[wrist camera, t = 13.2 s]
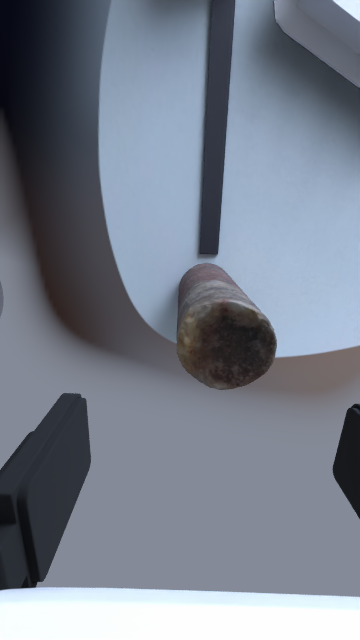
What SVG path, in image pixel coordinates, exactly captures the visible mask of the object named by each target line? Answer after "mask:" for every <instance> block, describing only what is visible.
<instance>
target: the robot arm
mask: <svg viewBox="0 0 360 640" xmlns="http://www.w3.org/2000/svg"><path fill="white" fill-rule="evenodd" d="M90 463H91V455H90V442H89V429H88V416H87V404H86V399H85V398H82V397H81V395H80V394H73V393H72V394H71V393H64V394H62V395H61V396H60V398H59V399H58V400H57V402H56V403H55V404H54V406H53V407H52V408H51V410H50V411H49V412H48V413H47V415H46V416H45V417H44V419H43V420H42V421H41V423H40V424H39V425H38V427H37V428H36V429H35V431H32V432H30V433H29V434H28V435H27V436H26V437H25V439H24V440H23V441H22V443H21V444H20V445H19V446H18V448H17V449H16V450H15V452H14V453H13V454H12V456H11V457H10V458H9V459H8V461H7V462H6V463H5V464H4V466H3V467H2V468H1V470H0V640H360V597H346V596H345V597H344V596H321V595H295V594H271V593H243V592H216V591H186V590H152V589H123V588H122V589H121V588H48V587H43V588H35V587H36V585H37V582H42V581H44V579H45V577H46V575H47V573H48V570H49V568H50V566H51V563H52V560H53V558H54V556H55V553H56V551H57V548H58V546H59V543H60V541H61V538H62V536H63V533H64V530H65V528H66V525H67V523H68V520H69V518H70V516H71V513H72V511H73V508H74V506H75V503H76V501H77V498H78V496H79V493H80V491H81V488H82V486H83V483H84V481H85V478H86V476H87V473H88V471H89V468H90ZM333 475H334V478H335V480H336V481H337V483H338V484H339V486H340V488H341V489H342V491H343V493H344V494H345V496H346V497H347V499H348V500H349V502H350V504H351V505H352V507H353V509H354V510H355V512H356V513H357V515H358V517H359V518H360V404H354V405H353V406H352V407H351V408H349V409H348V410H347V413H346V417H345V421H344V425H343V429H342V433H341V437H340V441H339V445H338V449H337V453H336V457H335V461H334V465H333Z"/></svg>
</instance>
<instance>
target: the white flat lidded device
mask: <svg viewBox="0 0 360 640" xmlns="http://www.w3.org/2000/svg"><path fill="white" fill-rule="evenodd" d="M274 8H275V20H276V21H277V23H278V24H279V26H280V27H281V29H282V30H283V32H284V33H286V34H287V35H288V36H290V37H291V38H292V39H294V40H295V41H296V42H298V43H299V44H301V45H302V46H303V47H305V48H306V49H307V50H309V51H310V52H311V53H313V54H314V55H315V56H317V57H318V58H319V59H321V60H322V61H323V62H325V63H326V64H327V65H329V66H330V67H332V68H333V69H334V70H336V71H337V72H338V73H340V74H341V75H342V76H344V77H345V78H346V79H348V80H349V81H350V82H352V83H353V84H354V85H356V86H357V87H358V88H360V0H275V1H274Z"/></svg>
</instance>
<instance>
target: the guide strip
mask: <svg viewBox="0 0 360 640" xmlns="http://www.w3.org/2000/svg"><path fill="white" fill-rule="evenodd" d="M234 11H235V0H212V12H211V32H210V52H209V73H208V93H207V114H206V134H205V155H204V175H203V196H202V216H201V237H200V254H218V245H219V231H220V216H221V202H222V187H223V172H224V158H225V143H226V128H227V114H228V99H229V84H230V70H231V55H232V40H233V26H234Z"/></svg>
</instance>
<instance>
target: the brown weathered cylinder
mask: <svg viewBox="0 0 360 640" xmlns="http://www.w3.org/2000/svg"><path fill="white" fill-rule="evenodd" d="M177 322H178V323H177V354H178V357H179V360H180V362H181V364H182V366H183V367H184V368H185V369H186V371H187V372H188V373H189V374H191V375H192V376H193V377H194V378H196V379H197V380H198V381H200V382H201V383H203V384H205V385H206V386H208V387H210V388H215V389H219V390H226V389H233V388H236V387H242V386H245V385H247V384H249V383H251V382H253V381H254V380H256V379H258V378H259V377H261V376H262V375H263V374H265V373H266V372H267V371H268V369H269V368H270V366H271V365H272V363H273V361H274V358H275V353H276V347H277V340H276V336H275V333H274V329H273V327H272V325H271V323H270V321H269V320H268V319H267V317H266V316H265V315H264V314H263V313H262V312H261V311H260V310H259V309H258V308H257V306H256V305H255V304H254V303H253V302H252V301H251V300H250V299H249V298H248V297H247V295H246V294H245V293H244V292H243V291H242V290H241V289H240V288H239V287H238V285H237V284H236V283H235V282H234V281H233V280H232V278H231V277H230V276H229V275H228V274H227V273H226V272H225V271H224V270H223V269H222V268H220V267H218V266H217V265H213V264H206V263H204V264H198V265H196V266H194V267H193V268H191V269H190V270H188V271H187V272H186V273H185V275H184V276H183V277H182V279H181V282H180V285H179V294H178V321H177Z"/></svg>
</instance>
